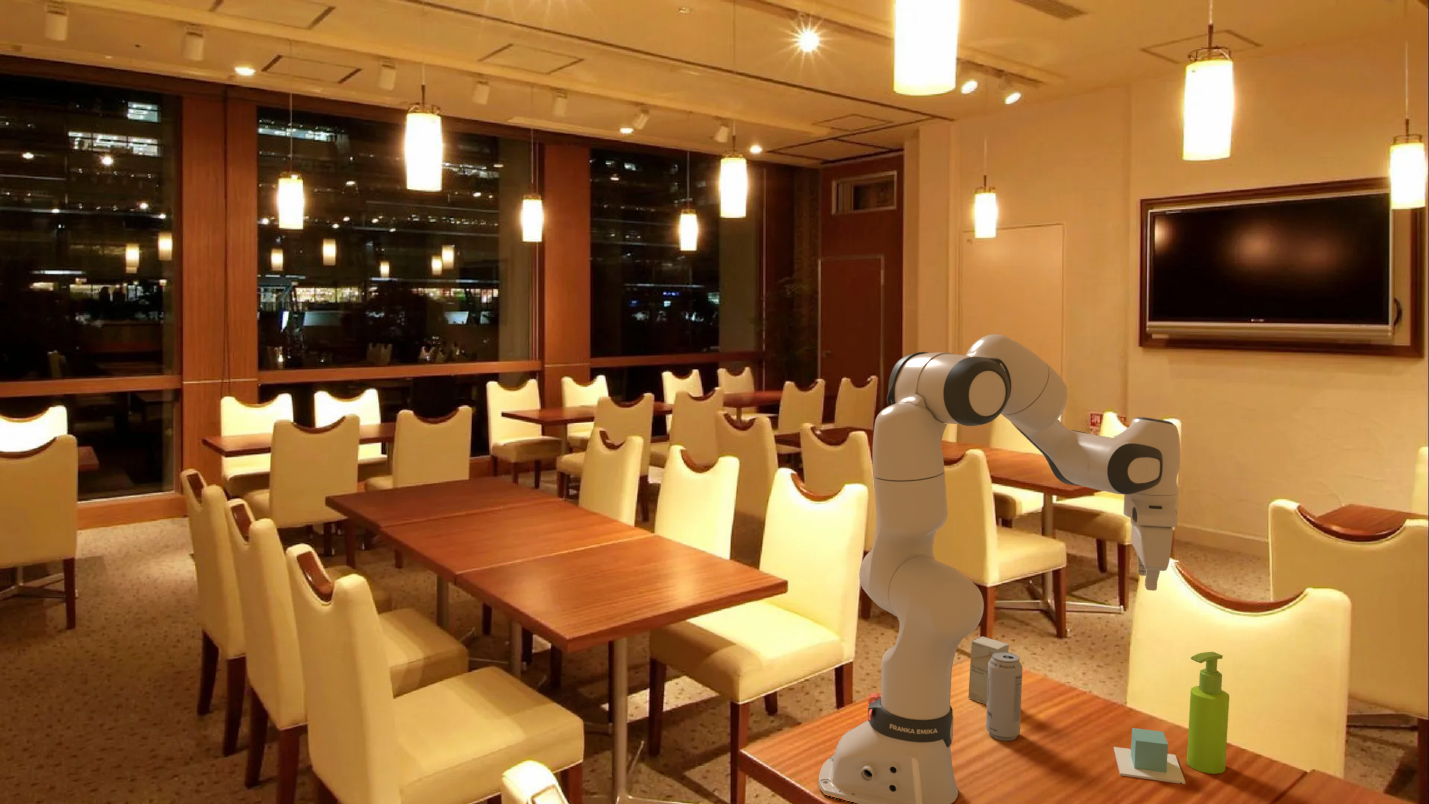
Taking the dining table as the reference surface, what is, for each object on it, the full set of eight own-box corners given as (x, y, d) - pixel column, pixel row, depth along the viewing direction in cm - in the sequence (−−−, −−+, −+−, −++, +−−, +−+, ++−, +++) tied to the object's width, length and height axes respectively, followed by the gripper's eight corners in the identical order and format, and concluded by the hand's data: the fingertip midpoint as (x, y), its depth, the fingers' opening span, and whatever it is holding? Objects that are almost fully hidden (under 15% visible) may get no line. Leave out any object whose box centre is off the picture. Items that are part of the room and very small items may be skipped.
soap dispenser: (1174, 762, 164) (1180, 650, 162) (1203, 755, 167) (1210, 645, 165) (1203, 777, 159) (1209, 662, 157) (1233, 770, 162) (1239, 657, 160)
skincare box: (967, 698, 191) (969, 640, 190) (979, 692, 194) (981, 635, 193) (995, 708, 186) (997, 648, 185) (1007, 702, 189) (1009, 643, 188)
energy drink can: (988, 725, 179) (991, 648, 177) (1021, 731, 176) (1024, 653, 175) (983, 738, 173) (986, 659, 172) (1017, 744, 171) (1020, 664, 169)
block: (1134, 768, 161) (1135, 740, 161) (1130, 755, 166) (1132, 727, 166) (1166, 772, 160) (1167, 744, 159) (1161, 759, 165) (1163, 731, 164)
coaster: (1120, 775, 160) (1120, 773, 160) (1113, 748, 169) (1113, 746, 169) (1185, 784, 157) (1185, 781, 157) (1174, 756, 166) (1175, 754, 166)
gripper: (1124, 494, 181) (1121, 565, 182) (1138, 517, 161) (1135, 596, 163) (1160, 496, 179) (1157, 568, 180) (1179, 520, 160) (1175, 599, 161)
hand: (1146, 581), depth 171 cm, fingers open, 8 cm apart
